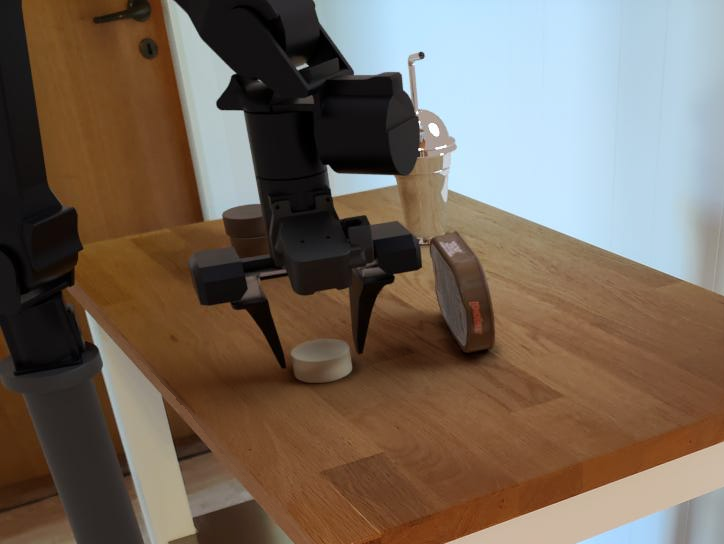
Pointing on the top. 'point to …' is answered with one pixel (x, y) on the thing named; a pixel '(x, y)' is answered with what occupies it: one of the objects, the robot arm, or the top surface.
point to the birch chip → (321, 360)
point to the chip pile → (246, 230)
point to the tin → (463, 292)
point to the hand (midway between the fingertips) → (321, 360)
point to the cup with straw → (426, 172)
